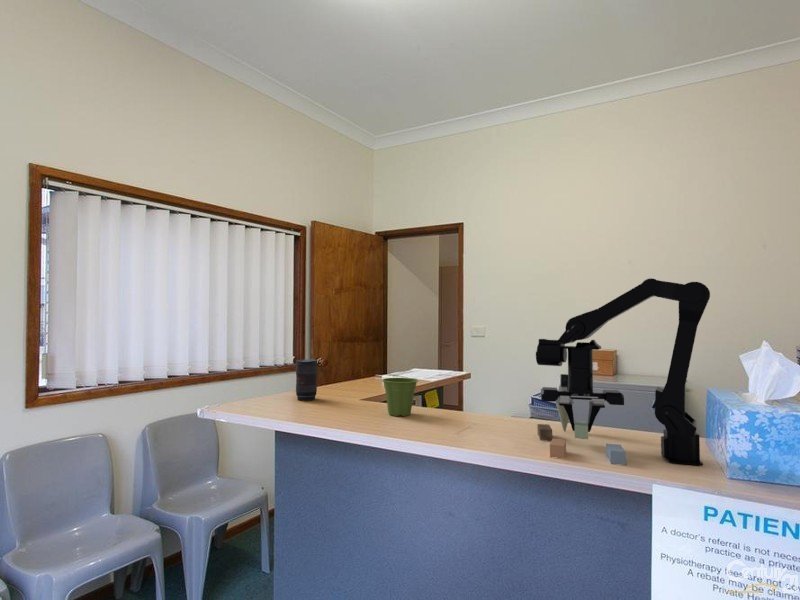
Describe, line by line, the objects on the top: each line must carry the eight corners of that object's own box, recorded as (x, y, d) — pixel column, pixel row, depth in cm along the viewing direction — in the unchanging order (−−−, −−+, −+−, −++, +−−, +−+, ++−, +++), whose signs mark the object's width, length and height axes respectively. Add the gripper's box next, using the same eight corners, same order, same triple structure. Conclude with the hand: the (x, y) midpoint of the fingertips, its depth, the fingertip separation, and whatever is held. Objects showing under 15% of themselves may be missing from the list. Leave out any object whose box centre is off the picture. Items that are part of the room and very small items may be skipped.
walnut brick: (549, 435, 123) (549, 424, 123) (552, 441, 117) (552, 429, 117) (537, 435, 124) (537, 424, 124) (540, 441, 118) (540, 429, 118)
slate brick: (620, 458, 104) (620, 444, 104) (626, 466, 98) (625, 451, 98) (606, 456, 104) (606, 443, 105) (610, 464, 99) (610, 450, 99)
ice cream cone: (551, 429, 129) (550, 376, 130) (565, 428, 131) (565, 375, 132) (563, 433, 124) (562, 378, 125) (578, 432, 126) (577, 377, 127)
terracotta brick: (566, 452, 108) (566, 439, 108) (564, 459, 102) (563, 446, 102) (552, 451, 109) (552, 438, 109) (549, 458, 103) (549, 444, 103)
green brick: (587, 433, 115) (587, 421, 115) (588, 439, 109) (587, 426, 109) (574, 432, 116) (574, 420, 116) (574, 437, 110) (574, 425, 111)
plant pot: (413, 419, 142) (413, 382, 142) (376, 416, 145) (377, 381, 145) (421, 412, 153) (421, 378, 154) (387, 409, 156) (388, 376, 157)
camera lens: (291, 400, 173) (292, 360, 174) (302, 397, 181) (302, 359, 182) (310, 401, 171) (311, 361, 172) (320, 398, 179) (321, 359, 179)
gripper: (615, 365, 119) (616, 426, 118) (540, 363, 124) (540, 421, 123) (624, 369, 108) (625, 437, 107) (541, 367, 113) (541, 431, 112)
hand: (581, 431), depth 113 cm, fingers closed on green brick, 3 cm apart
